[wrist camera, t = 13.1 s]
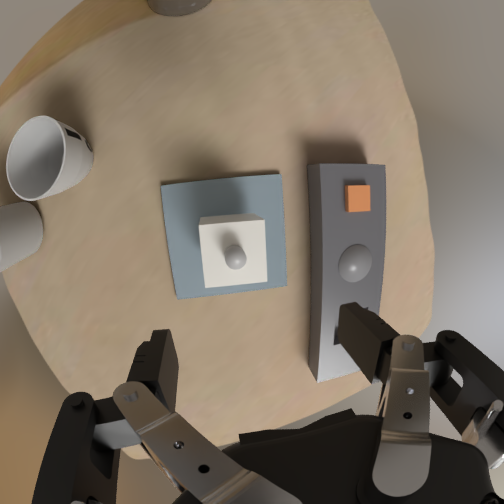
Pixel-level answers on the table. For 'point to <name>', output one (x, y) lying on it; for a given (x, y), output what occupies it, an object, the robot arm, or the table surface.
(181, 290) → the mat
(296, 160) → the table surface
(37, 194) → the cup
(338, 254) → the power strip
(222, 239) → the block
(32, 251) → the can
